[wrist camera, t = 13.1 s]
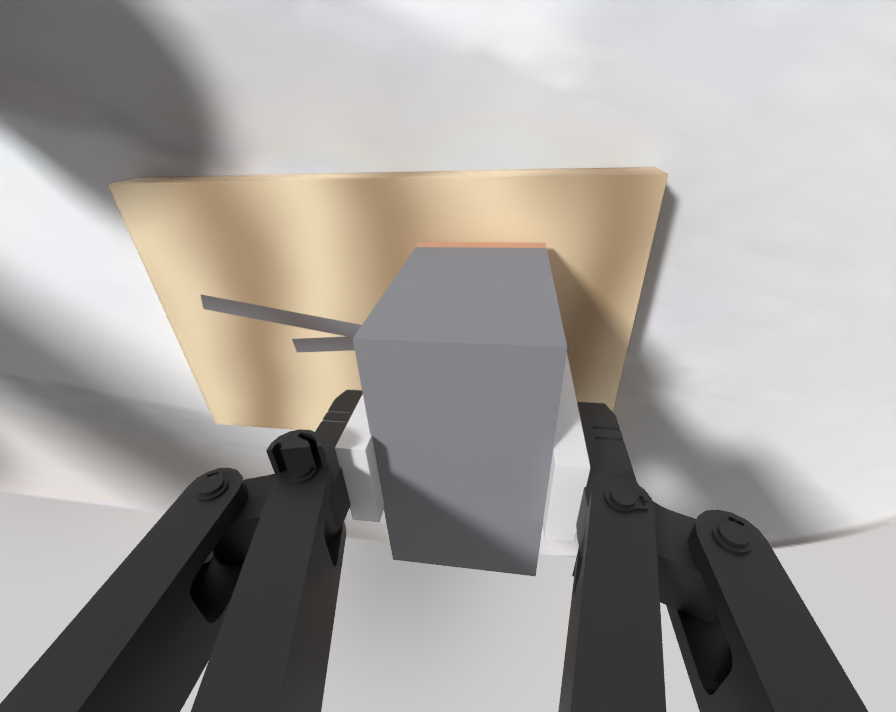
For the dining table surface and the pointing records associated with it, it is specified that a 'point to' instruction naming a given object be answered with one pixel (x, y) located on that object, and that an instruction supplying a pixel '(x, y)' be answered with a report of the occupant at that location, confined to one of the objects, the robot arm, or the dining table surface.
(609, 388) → the board
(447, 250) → the block
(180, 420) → the dining table surface
